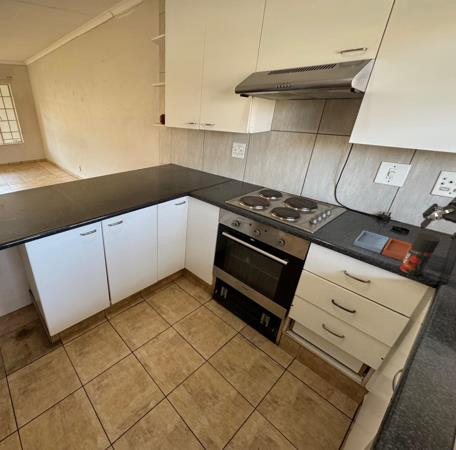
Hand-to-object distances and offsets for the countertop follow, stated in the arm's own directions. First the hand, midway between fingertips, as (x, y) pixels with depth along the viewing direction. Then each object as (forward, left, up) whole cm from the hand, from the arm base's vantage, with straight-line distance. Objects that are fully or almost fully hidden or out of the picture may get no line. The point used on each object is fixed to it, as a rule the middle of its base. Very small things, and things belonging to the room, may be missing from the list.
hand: (436, 232), depth 90 cm
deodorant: (+1, +4, -16) cm, 17 cm away
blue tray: (+17, -10, -16) cm, 25 cm away
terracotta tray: (+6, -10, -16) cm, 20 cm away
